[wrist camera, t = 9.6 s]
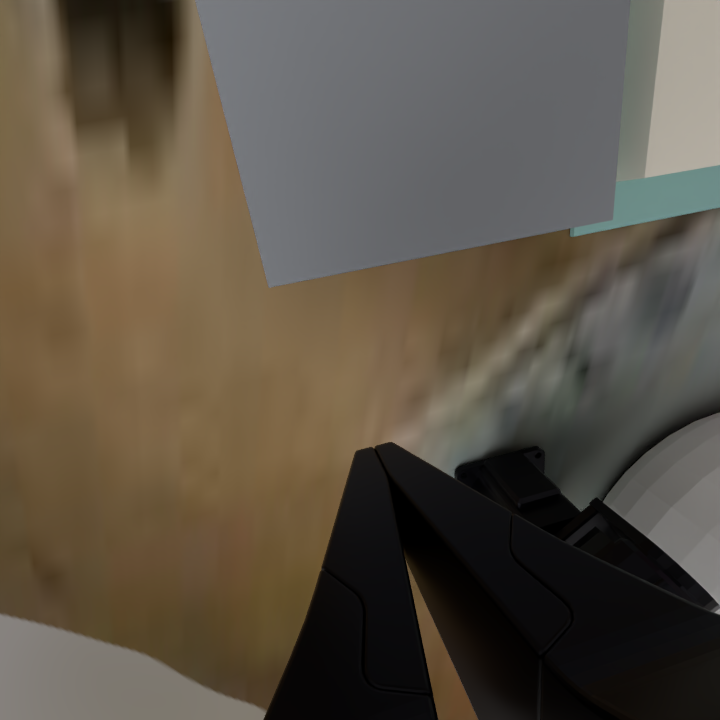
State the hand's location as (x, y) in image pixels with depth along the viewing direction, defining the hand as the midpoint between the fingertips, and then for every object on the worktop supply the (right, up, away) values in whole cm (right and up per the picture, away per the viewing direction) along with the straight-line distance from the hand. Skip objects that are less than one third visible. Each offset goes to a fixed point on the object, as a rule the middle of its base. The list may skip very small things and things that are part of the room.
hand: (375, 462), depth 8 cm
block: (+16, +16, +9) cm, 25 cm away
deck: (+2, +14, +9) cm, 17 cm away
